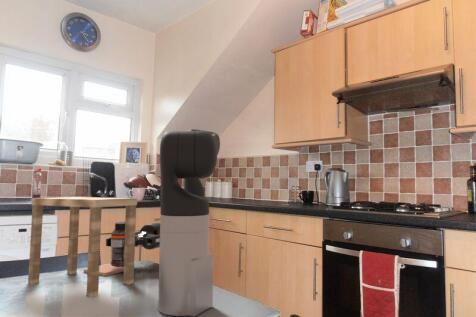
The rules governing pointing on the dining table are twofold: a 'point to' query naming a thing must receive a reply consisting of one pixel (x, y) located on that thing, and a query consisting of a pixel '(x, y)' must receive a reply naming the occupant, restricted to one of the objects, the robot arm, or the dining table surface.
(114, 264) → the supplement bottle
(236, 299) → the dining table surface
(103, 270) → the coaster
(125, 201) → the small wooden table
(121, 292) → the dining table surface
